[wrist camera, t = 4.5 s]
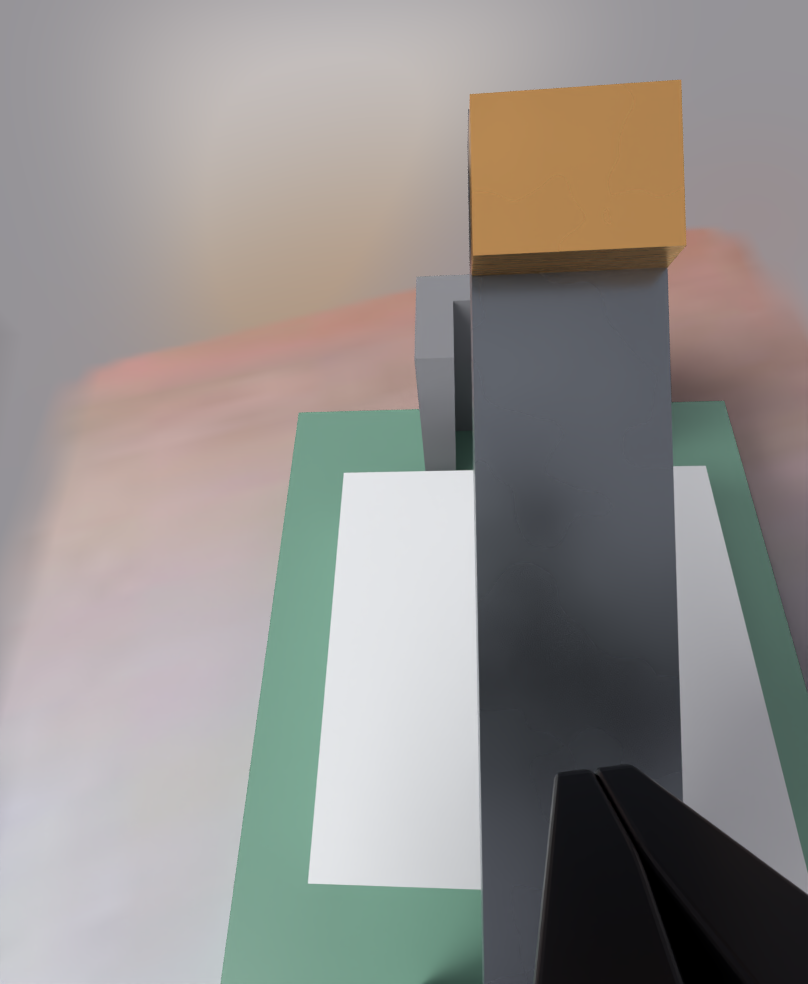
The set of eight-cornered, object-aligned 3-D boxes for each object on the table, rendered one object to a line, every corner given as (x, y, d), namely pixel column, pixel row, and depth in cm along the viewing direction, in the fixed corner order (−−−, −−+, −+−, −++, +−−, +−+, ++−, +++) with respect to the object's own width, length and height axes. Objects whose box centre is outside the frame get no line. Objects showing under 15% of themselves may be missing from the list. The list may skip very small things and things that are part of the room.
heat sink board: (934, 1278, 13) (1427, 1716, 6) (209, 1218, 14) (-12, 1533, 7) (709, 426, 23) (805, 259, 17) (307, 436, 24) (251, 284, 18)
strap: (668, 1133, 10) (718, 1279, 8) (484, 1120, 11) (490, 1261, 9) (640, 141, 11) (680, 59, 9) (466, 152, 11) (470, 74, 9)
